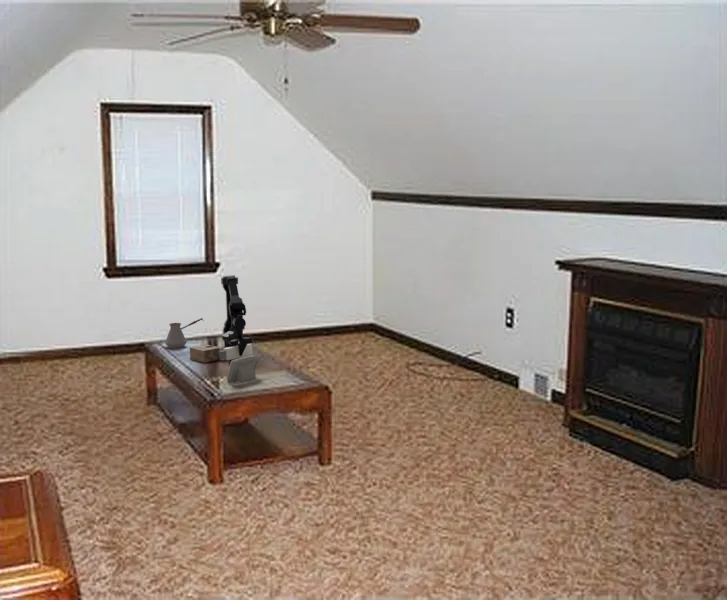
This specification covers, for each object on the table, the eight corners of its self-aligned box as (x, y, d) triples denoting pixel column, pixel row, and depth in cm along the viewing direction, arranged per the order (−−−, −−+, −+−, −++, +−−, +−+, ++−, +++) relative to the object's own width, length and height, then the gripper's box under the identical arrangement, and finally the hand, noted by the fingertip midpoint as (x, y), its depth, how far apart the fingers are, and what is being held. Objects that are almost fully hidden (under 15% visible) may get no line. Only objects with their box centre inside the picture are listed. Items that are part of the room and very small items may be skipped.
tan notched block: (206, 355, 413) (206, 344, 412) (220, 359, 405) (219, 347, 404) (190, 358, 406) (189, 347, 405) (204, 362, 398) (203, 350, 397)
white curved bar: (248, 354, 417) (248, 343, 416) (252, 355, 415) (251, 344, 414) (218, 360, 403) (217, 349, 402) (221, 361, 401) (221, 350, 400)
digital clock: (252, 375, 373) (251, 353, 372) (263, 378, 367) (262, 356, 365) (222, 381, 363) (221, 358, 361) (233, 384, 356) (232, 361, 354)
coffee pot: (167, 349, 427) (166, 322, 425) (163, 345, 438) (162, 319, 435) (206, 346, 436) (205, 319, 433) (202, 342, 446) (201, 316, 444)
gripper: (213, 325, 408) (214, 355, 410) (235, 330, 395) (236, 360, 398) (230, 322, 416) (231, 351, 418) (253, 327, 403) (254, 357, 406)
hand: (237, 355), depth 410 cm, fingers open, 4 cm apart
